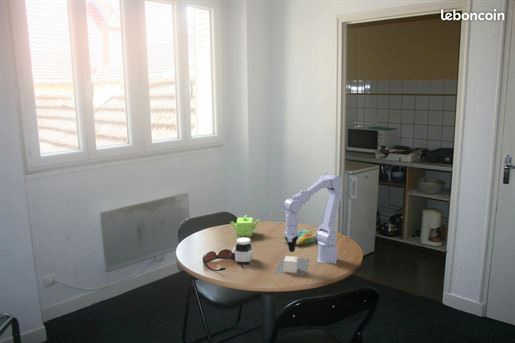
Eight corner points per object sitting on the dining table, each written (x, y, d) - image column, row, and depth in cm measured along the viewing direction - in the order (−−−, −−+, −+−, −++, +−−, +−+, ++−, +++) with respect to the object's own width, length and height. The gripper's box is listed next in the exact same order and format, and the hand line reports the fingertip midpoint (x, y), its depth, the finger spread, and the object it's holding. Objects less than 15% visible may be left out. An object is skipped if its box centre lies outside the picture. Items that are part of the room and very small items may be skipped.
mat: (309, 260, 224) (309, 259, 224) (304, 276, 204) (304, 275, 204) (282, 258, 227) (282, 257, 227) (275, 274, 208) (275, 273, 207)
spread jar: (248, 266, 217) (247, 243, 215) (226, 264, 220) (226, 241, 218) (255, 257, 229) (254, 235, 226) (234, 255, 232) (233, 234, 229)
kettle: (246, 230, 272) (245, 212, 270) (262, 235, 262) (262, 217, 260) (227, 235, 262) (227, 217, 260) (244, 241, 252) (243, 222, 250)
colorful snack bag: (321, 232, 252) (296, 240, 239) (321, 240, 253) (296, 249, 240) (306, 227, 261) (282, 235, 248) (306, 235, 262) (282, 243, 249)
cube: (296, 261, 205) (296, 273, 206) (298, 256, 211) (298, 268, 212) (283, 260, 206) (283, 272, 208) (285, 255, 212) (285, 267, 213)
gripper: (286, 219, 216) (286, 245, 218) (281, 228, 202) (281, 256, 204) (300, 219, 214) (300, 246, 217) (296, 229, 200) (296, 257, 203)
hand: (291, 251), depth 210 cm, fingers closed
